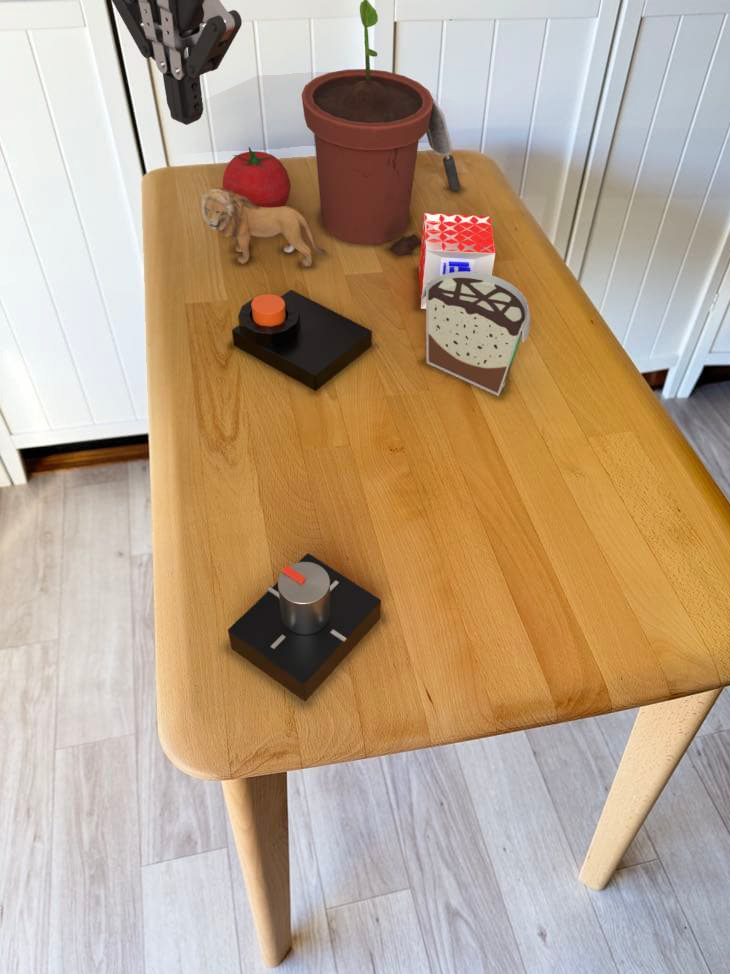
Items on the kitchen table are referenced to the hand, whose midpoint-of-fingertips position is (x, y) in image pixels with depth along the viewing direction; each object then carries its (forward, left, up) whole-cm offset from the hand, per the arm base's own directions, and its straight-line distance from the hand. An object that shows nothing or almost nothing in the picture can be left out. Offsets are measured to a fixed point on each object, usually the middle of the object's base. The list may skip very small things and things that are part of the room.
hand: (187, 119), depth 69 cm
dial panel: (-21, -30, -26) cm, 45 cm away
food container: (+18, -22, -26) cm, 39 cm away
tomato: (+26, +18, -26) cm, 41 cm away
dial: (-21, -30, -23) cm, 43 cm away
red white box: (+28, -12, -26) cm, 40 cm away
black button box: (+8, -5, -26) cm, 28 cm away
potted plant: (+36, +4, -26) cm, 45 cm away
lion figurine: (+18, +10, -26) cm, 33 cm away
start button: (+6, -2, -23) cm, 23 cm away
